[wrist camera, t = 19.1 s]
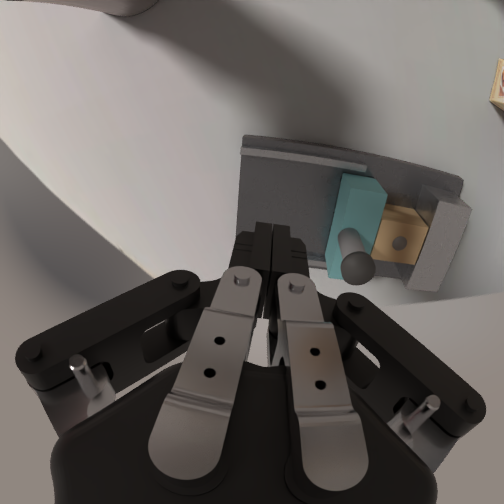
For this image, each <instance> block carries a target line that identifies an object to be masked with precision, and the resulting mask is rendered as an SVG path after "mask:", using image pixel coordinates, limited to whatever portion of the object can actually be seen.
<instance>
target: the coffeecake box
mask: <svg viewBox="0 0 504 504" xmlns="http://www.w3.org/2000/svg"><path fill="white" fill-rule="evenodd" d="M489 101H490V102H492V103H493V104H495V105H496V106H497V107H499V108H500V109H502V110H503V111H504V59H499V60H498V66H497V71H496V76H495V80H494V83H493V87H492V91H491V95H490V99H489Z"/></svg>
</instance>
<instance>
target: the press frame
mask: <svg viewBox="0 0 504 504" xmlns="http://www.w3.org/2000/svg"><path fill="white" fill-rule="evenodd" d="M240 154H241V167H240V181H239V196H238V211H237V226H236V236H237V235H238V234H239V233H241V232H242V231H249V232H255V225H256V221H257V222H264V223H271V224H272V229H273V224H279V225H286V226H290V235H291V237H293V238H300V239H301V240H302V241H303V243H304V244H305V245H306V252H307V253H306V254H307V260H308V267H310V268H318V269H326V270H327V265H326V258H325V252H326V248H327V243H328V239H329V235H330V231H331V226H332V222H333V217H334V213H335V208H336V204H337V199H338V194H339V189H340V184H341V179H342V174H343V173H348V174H353V175H359V176H364V177H369V178H374V179H376V180H377V181H378V183H379V184H380V185H381V187H382V188H383V189H384V190H385V192H386V193H387V194H388V196H387V199H386V203H385V204H391V205H396V206H401V207H406V208H411V209H414V210H415V211H416V212H417V214H418V215H419V216H420V217H421V219H422V220H423V221H424V223H425V224H426V225H427V226H428V231H427V234H426V237H425V239H424V242H423V245H422V247H421V250H420V252H419V255H418V258H417V260H416V263H415V265H412V264H405V263H398V262H390V261H383V260H376V259H373V261H374V263H375V266H376V271H375V274H374V275H375V276H383V277H391V278H399V279H402V281H403V283H404V286H405V288H406V289H414V290H423V291H433V292H437V291H438V289H439V287H440V285H441V283H442V281H443V279H444V277H445V275H446V272H447V270H448V268H449V266H450V264H451V261H452V259H453V257H454V255H455V252H456V250H457V247H458V245H459V243H460V240H461V238H462V235H463V233H464V230H465V227H466V225H467V222H468V219H469V217H470V214H471V211H472V209H471V208H470V207H469V206H468V205H467V204H466V203H465V202H464V201H463V200H462V199H460V198H459V194H460V191H461V188H462V185H463V181H464V180H463V179H462V178H460V177H459V176H456V175H453V174H450V173H446V172H443V171H439V170H436V169H432V168H429V167H425V166H421V165H418V164H414V163H410V162H406V161H402V160H397V159H393V158H389V157H385V156H380V155H375V154H371V153H366V152H361V151H356V150H351V149H345V148H340V147H334V146H328V145H322V144H316V143H310V142H303V141H296V140H288V139H280V138H272V137H263V136H253V135H244V136H243V141H242V146H241V152H240Z"/></svg>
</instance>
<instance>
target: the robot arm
mask: <svg viewBox="0 0 504 504" xmlns="http://www.w3.org/2000/svg"><path fill="white" fill-rule="evenodd" d="M8 1H29V2H41V3H51V4H59V5H66V6H73V7H79V8H84V9H90V10H95V11H100V12H104V13H109V14H113V15H117V16H133V15H136V14H139V13H142V12H143V11H145V10H147V9H149V8H150V7H151V6H153V5H154V4H155V3H156V2H157V1H158V0H8ZM306 253H307V252H306V245H305V244H304V243H303V241H302V240H301V239H300V238H293V237H291V235H290V226H286V225H279V224H273V229H272V224H271V223H264V222H257V221H256V225H255V232H249V231H242V232H241V233H239V234H238V235H237V236H236V240H235V244H234V248H233V252H232V256H231V260H230V264H229V268H228V269H227V270H226V271H225V272H224V273H223V275H222V278H220V279H217V280H213V281H205V282H200V279H199V277H198V276H197V275H196V274H194V273H193V272H190V271H187V270H174V271H171V272H168V273H166V274H164V275H162V276H160V277H157V278H155V279H153V280H151V281H149V282H147V283H145V284H143V285H140V286H138V287H136V288H134V289H132V290H130V291H128V292H125V293H123V294H121V295H119V296H117V297H115V298H113V299H111V300H109V301H106V302H104V303H102V304H100V305H98V306H96V307H94V308H92V309H90V310H88V311H85V312H84V313H81V314H79V315H77V316H75V317H73V318H71V319H69V320H67V321H65V322H63V323H61V324H58V325H56V326H54V327H52V328H50V329H48V330H46V331H44V332H42V333H40V334H38V335H36V336H34V337H32V338H30V339H28V340H26V341H25V342H23V343H22V344H21V345H20V347H19V348H18V350H17V352H16V357H15V361H16V365H17V367H18V368H19V370H20V371H21V373H22V374H23V375H24V377H25V378H26V380H27V382H28V384H29V386H30V387H31V388H32V390H33V391H34V392H35V394H36V395H37V396H38V397H39V399H40V400H41V403H42V405H43V407H44V409H45V411H46V413H47V415H48V417H49V419H50V421H51V423H52V425H53V427H54V429H55V431H56V433H57V435H58V436H59V439H58V441H57V442H56V444H55V446H54V448H53V451H52V454H51V460H50V463H51V464H50V468H51V475H52V480H53V485H54V492H55V493H54V494H55V504H436V500H437V492H438V490H437V483H436V479H435V476H434V474H433V473H434V472H435V471H436V470H437V468H438V467H439V466H440V464H441V463H442V462H443V460H444V458H445V457H446V456H447V455H448V453H449V452H450V450H451V449H452V448H453V446H454V445H455V443H456V442H457V441H458V440H459V439H460V438H462V437H463V436H464V435H465V434H466V433H468V432H469V431H470V430H471V429H473V428H474V427H475V426H476V425H478V424H479V423H480V422H481V421H482V420H483V419H484V417H485V414H486V405H485V402H484V400H483V398H482V397H481V395H480V394H479V393H478V392H477V391H475V390H474V389H473V388H472V387H471V386H470V385H469V384H468V383H466V382H465V381H464V380H463V379H462V378H461V377H460V376H459V375H457V374H456V373H455V372H454V371H453V370H452V369H450V368H449V367H448V366H447V365H446V364H445V363H443V362H442V361H441V360H440V359H439V358H438V357H437V356H435V355H434V354H433V353H432V352H431V351H429V350H428V349H427V348H426V347H425V346H424V345H422V344H421V343H420V342H419V341H418V340H417V339H415V338H414V337H413V336H412V335H410V334H409V333H408V332H407V331H406V330H405V329H403V328H402V327H401V326H399V324H397V323H396V322H395V321H394V320H392V319H391V318H390V317H389V316H387V315H386V314H385V313H384V312H383V311H381V310H380V309H379V308H378V307H377V306H375V305H374V304H373V303H372V302H370V301H369V300H368V299H367V298H365V297H364V296H362V295H360V294H357V293H351V292H347V293H343V294H341V295H339V296H338V298H337V300H336V299H333V298H330V297H327V296H325V295H323V294H321V293H319V292H318V291H317V290H316V286H315V284H314V282H313V281H312V280H311V279H310V276H309V267H308V260H307V254H306ZM263 306H264V312H263ZM262 312H263V318H264V319H269V326H268V330H267V356H268V357H267V359H268V367H262V366H258V365H255V364H252V363H249V362H247V359H248V355H249V350H250V345H251V341H252V336H253V331H254V328H255V327H256V323H257V318H261V317H262ZM164 320H165V321H164ZM162 321H164V322H163V323H161V324H159V325H157V326H155V327H153V326H154V325H156V324H158V323H160V322H162ZM151 327H153V328H152V329H150V330H148V331H146V330H147V329H149V328H151ZM145 331H146V332H145ZM358 342H360V343H361V344H362V345H363V346H364V347H365V348H366V349H367V350H369V352H370V353H372V354H373V355H374V356H375V357H376V358H377V359H378V361H379V363H380V369H379V368H378V367H377V366H376V365H375V364H374V363H373V362H372V361H371V360H370V359H369V358H367V357H366V356H365V355H364V354H363V353H362V352H361V351H360V350H359V349H358V348H356V346H357V344H358ZM186 351H187V353H186V355H185V358H184V361H183V362H182V363H178V364H175V365H172V366H170V367H168V368H166V369H164V370H163V371H161V372H159V373H158V374H156V375H155V376H153V377H152V378H150V379H149V380H147V381H146V382H144V383H142V384H141V385H139V386H138V387H136V388H135V389H133V390H132V391H130V392H129V393H127V394H126V395H124V396H123V397H121V398H119V399H118V400H116V401H115V397H116V393H118V392H120V391H122V390H123V389H125V388H127V387H128V386H130V385H132V384H133V383H135V382H137V381H139V380H140V379H142V378H144V377H145V376H147V375H149V374H150V373H152V372H153V371H155V370H157V369H159V368H160V367H162V366H163V365H165V364H167V363H168V362H170V361H172V360H173V359H175V358H176V357H178V356H180V355H181V354H183V353H184V352H186Z"/></svg>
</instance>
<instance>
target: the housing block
mask: <svg viewBox="0 0 504 504" xmlns="http://www.w3.org/2000/svg"><path fill="white" fill-rule="evenodd" d="M427 231H428V226H427V225H426V224H425V223H424V221H423V220H422V219H421V217H420V216H419V215H418V214H417V212H416V211H415V210H414V209H411V208H406V207H401V206H396V205H391V204H385V207H384V210H383V214H382V217H381V221H380V224H379V228H378V231H377V234H376V238H375V241H374V244H373V247H372V250H371V253H370V256H371V257H372V258H373V259H376V260H383V261H390V262H398V263H405V264H412V265H415V263H416V260H417V258H418V255H419V252H420V250H421V247H422V245H423V242H424V239H425V237H426V234H427Z"/></svg>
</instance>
